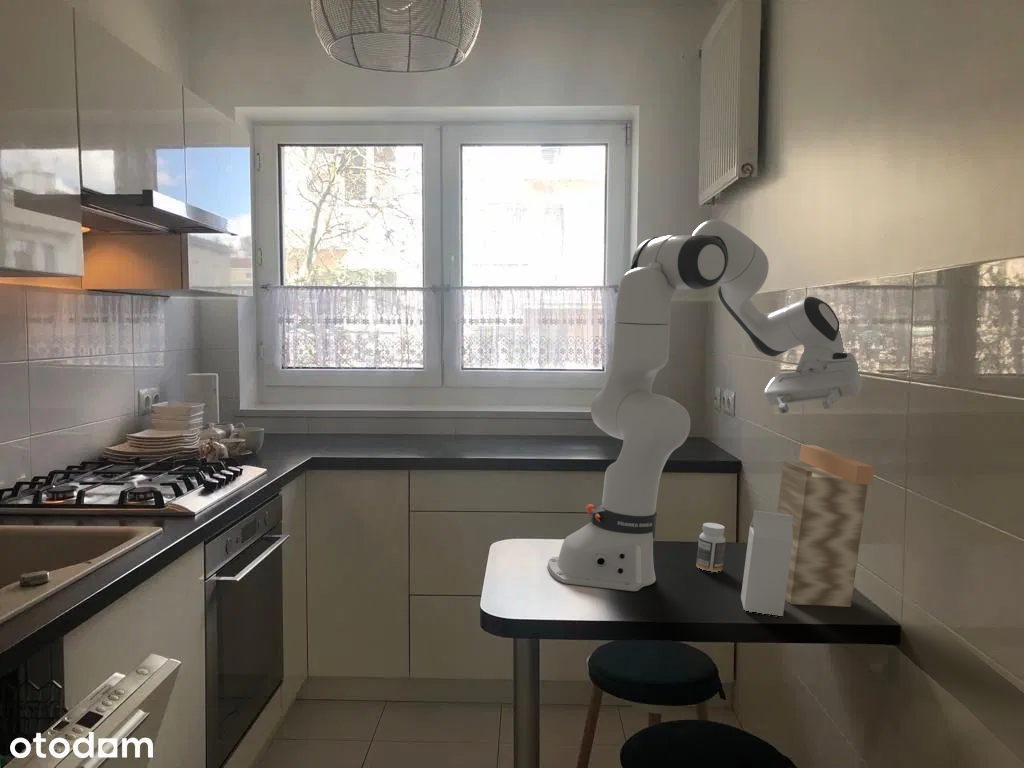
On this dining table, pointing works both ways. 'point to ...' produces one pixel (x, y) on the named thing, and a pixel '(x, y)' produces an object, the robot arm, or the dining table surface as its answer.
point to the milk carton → (767, 563)
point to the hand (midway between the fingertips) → (804, 408)
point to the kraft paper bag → (821, 534)
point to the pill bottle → (711, 547)
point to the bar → (837, 464)
